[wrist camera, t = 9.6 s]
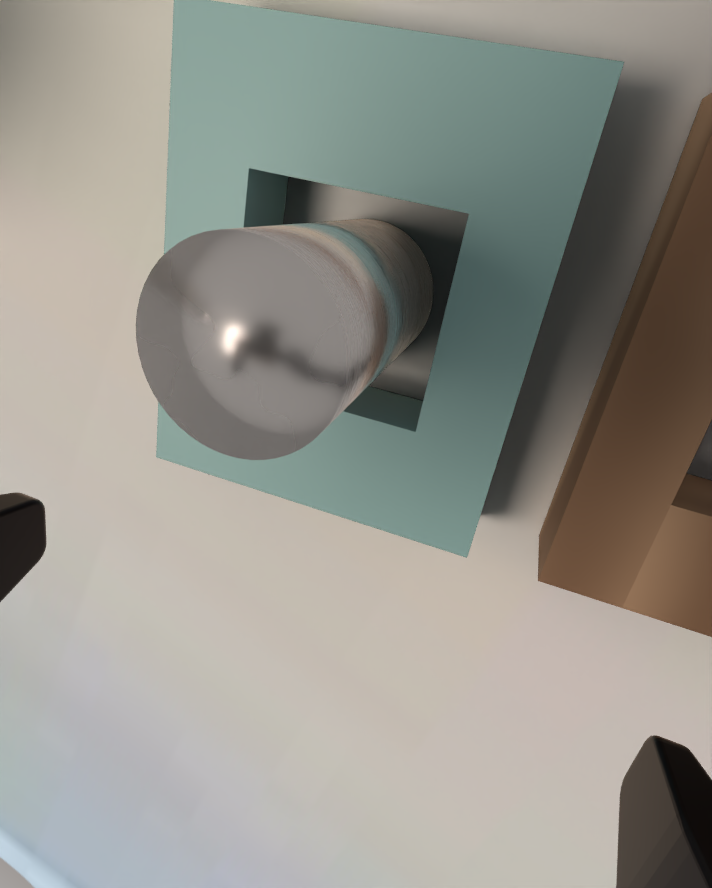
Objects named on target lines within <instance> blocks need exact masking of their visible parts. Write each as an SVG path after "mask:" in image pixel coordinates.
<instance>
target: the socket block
mask: <svg viewBox="0 0 712 888" xmlns="http://www.w3.org/2000/svg"><path fill="white" fill-rule="evenodd" d="M711 420H712V93H711V94H709V95H708V96H706V97H705V98H703V99H702V101H701V104H700V107H699V109H698V112H697V115H696V117H695V120H694V123H693V125H692V128H691V131H690V133H689V136H688V139H687V141H686V144H685V147H684V149H683V152H682V155H681V158H680V160H679V163H678V166H677V168H676V171H675V174H674V176H673V179H672V182H671V184H670V187H669V190H668V192H667V195H666V198H665V200H664V203H663V206H662V208H661V211H660V214H659V216H658V219H657V222H656V224H655V227H654V230H653V232H652V235H651V238H650V240H649V243H648V246H647V248H646V251H645V254H644V256H643V259H642V262H641V264H640V267H639V270H638V272H637V275H636V278H635V280H634V283H633V286H632V288H631V291H630V294H629V297H628V299H627V302H626V305H625V307H624V310H623V313H622V315H621V318H620V321H619V323H618V326H617V329H616V331H615V334H614V337H613V339H612V342H611V345H610V347H609V350H608V353H607V355H606V358H605V361H604V363H603V366H602V369H601V371H600V374H599V377H598V379H597V382H596V385H595V387H594V390H593V393H592V395H591V398H590V401H589V403H588V406H587V409H586V411H585V414H584V417H583V419H582V422H581V425H580V427H579V430H578V433H577V436H576V438H575V441H574V444H573V446H572V449H571V452H570V454H569V457H568V460H567V462H566V465H565V468H564V470H563V473H562V476H561V478H560V481H559V484H558V486H557V489H556V492H555V494H554V497H553V500H552V502H551V505H550V508H549V510H548V513H547V516H546V518H545V521H544V524H543V526H542V529H541V532H540V534H539V561H538V581H541V582H544V583H547V584H550V585H553V586H556V587H559V588H562V589H565V590H568V591H572V592H575V593H578V594H581V595H584V596H587V597H590V598H593V599H596V600H599V601H602V602H605V603H609V604H612V605H615V606H618V607H621V608H624V609H627V610H630V611H633V612H636V613H639V614H643V615H646V616H649V617H652V618H655V619H658V620H661V621H664V622H667V623H670V624H673V625H677V626H680V627H683V628H686V629H689V630H692V631H695V632H698V633H701V634H704V635H707V636H711V637H712V481H711V480H708V479H704V478H700V477H697V476H693V475H689V474H686V473H687V471H688V468H689V466H690V464H691V462H692V460H693V458H694V456H695V454H696V452H697V450H698V447H699V445H700V443H701V441H702V439H703V437H704V435H705V433H706V431H707V429H708V426H709V424H710V422H711Z"/></svg>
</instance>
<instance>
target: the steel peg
mask: <svg viewBox="0 0 712 888" xmlns="http://www.w3.org/2000/svg"><path fill="white" fill-rule="evenodd" d="M432 302H433V280H432V275H431V271H430V268H429V265H428V262H427V260H426V258H425V256H424V254H423V252H422V251H421V249H420V248H419V246H418V245H417V244H416V243H415V242H414V241H413V239H412V238H411V237H409V236H408V235H407V234H406V233H405V232H404V231H402V230H400V229H399V228H397V227H396V226H393V225H391V224H389V223H386V222H383V221H380V220H373V219H354V220H341V221H327V222H314V223H300V224H286V225H273V226H259V227H246V228H232V229H219V230H212V231H206V232H202V233H199V234H196V235H193V236H191V237H189V238H187V239H185V240H183V241H181V242H179V243H178V244H176V245H175V246H174V247H172V248H171V249H170V250H168V251H167V252H166V253H165V254H164V255H163V256H162V258H161V259H160V260H159V261H158V262H157V264H156V265H155V266H154V268H153V269H152V271H151V272H150V274H149V276H148V278H147V280H146V282H145V284H144V287H143V290H142V293H141V295H140V299H139V304H138V309H137V318H136V339H137V346H138V353H139V357H140V361H141V365H142V368H143V371H144V373H145V376H146V379H147V381H148V383H149V385H150V387H151V389H152V391H153V393H154V395H155V397H156V398H157V400H158V401H159V403H160V405H161V406H162V407H163V409H164V410H165V411H166V413H167V414H168V415H169V416H170V418H171V419H172V420H173V421H174V422H175V423H176V424H177V425H178V426H179V427H180V428H181V429H182V430H184V431H185V432H186V433H187V434H188V435H190V436H191V437H192V438H194V439H195V440H197V441H198V442H200V443H201V444H203V445H205V446H207V447H208V448H210V449H212V450H214V451H217V452H219V453H222V454H225V455H227V456H231V457H235V458H239V459H248V460H268V459H274V458H279V457H282V456H286V455H289V454H291V453H293V452H296V451H298V450H300V449H302V448H303V447H305V446H306V445H308V444H309V443H311V442H312V441H313V440H314V439H315V438H316V437H317V436H318V435H319V434H321V433H322V432H323V431H324V430H325V429H326V428H327V427H328V426H329V425H330V424H331V423H332V422H333V421H334V420H335V419H336V418H337V417H338V416H339V415H340V414H341V413H342V412H343V411H344V410H345V409H346V408H347V407H348V406H349V405H350V404H351V403H352V402H353V401H354V400H355V399H356V398H357V397H358V396H359V395H360V394H361V393H362V392H363V391H364V390H365V389H366V388H367V387H368V386H369V385H370V384H371V383H372V382H373V381H374V380H375V379H376V378H377V377H378V376H379V375H380V374H381V373H382V372H383V371H384V370H385V369H386V368H387V367H388V366H389V365H390V364H391V363H392V362H393V361H394V360H395V359H396V358H397V357H398V356H399V355H400V354H401V353H402V352H403V351H404V350H405V349H406V348H407V347H408V346H409V345H410V344H411V343H412V342H413V341H414V340H415V339H416V337H417V336H418V335H419V334H420V332H421V331H422V329H423V328H424V326H425V324H426V322H427V320H428V317H429V314H430V311H431V308H432Z"/></svg>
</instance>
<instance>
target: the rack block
mask: <svg viewBox="0 0 712 888" xmlns="http://www.w3.org/2000/svg"><path fill="white" fill-rule="evenodd" d="M623 64H624V62H622V61H615V60H608V59H601V58H595V57H588V56H581V55H575V54H568V53H561V52H554V51H548V50H541V49H534V48H527V47H521V46H514V45H507V44H501V43H494V42H487V41H480V40H474V39H467V38H460V37H453V36H447V35H440V34H433V33H427V32H420V31H413V30H406V29H400V28H393V27H386V26H379V25H373V24H366V23H359V22H353V21H346V20H339V19H332V18H326V17H319V16H312V15H305V14H299V13H292V12H285V11H278V10H272V9H265V8H258V7H252V6H245V5H238V4H231V3H225V2H218V1H211V0H174V10H173V36H172V62H171V88H170V114H169V140H168V166H167V191H166V217H165V243H164V254H165V253H166V252H167V251H168V250H170V249H171V248H172V247H174V246H175V245H176V244H178V243H179V242H181V241H183V240H185V239H187V238H189V237H191V236H193V235H196V234H199V233H202V232H206V231H212V230H219V229H232V228H246V227H259V226H273V225H283V218H284V210H285V201H286V193H287V185H288V176H289V177H294V178H299V179H304V180H309V181H314V182H318V183H323V184H328V185H333V186H338V187H342V188H347V189H352V190H357V191H362V192H367V193H371V194H376V195H381V196H386V197H391V198H395V199H400V200H405V201H410V202H415V203H420V204H424V205H429V206H434V207H439V208H444V209H448V210H453V211H458V212H463V213H468V214H469V216H468V220H467V224H466V228H465V232H464V236H463V240H462V244H461V248H460V252H459V257H458V261H457V265H456V269H455V273H454V277H453V281H452V285H451V289H450V293H449V297H448V301H447V306H446V310H445V314H444V318H443V322H442V326H441V330H440V334H439V338H438V342H437V346H436V351H435V355H434V359H433V363H432V367H431V371H430V375H429V379H428V383H427V387H426V391H425V396H424V400H423V401H420V400H417V399H413V398H409V397H406V396H402V395H398V394H395V393H391V392H388V391H384V390H380V389H377V388H373V387H369V386H368V387H367V388H366V389H365V390H364V391H363V392H362V393H361V394H360V395H359V396H358V397H357V398H356V399H355V400H354V401H353V402H352V403H351V404H350V405H349V406H348V407H347V408H346V409H345V410H344V411H343V412H342V413H341V414H340V415H339V416H338V417H337V418H336V419H335V420H334V421H333V422H332V423H331V424H330V425H329V426H328V427H327V428H326V429H325V430H324V431H323V432H322V433H321V434H319V435H318V436H317V437H316V438H315V439H314V440H313V441H312V442H311V443H309V444H308V445H306V446H305V447H303V448H302V449H300V450H298V451H296V452H293V453H291V454H289V455H286V456H282V457H279V458H274V459H268V460H248V459H239V458H235V457H231V456H227V455H225V454H222V453H219V452H217V451H214V450H212V449H210V448H208V447H207V446H205V445H203V444H201V443H200V442H198V441H197V440H195V439H194V438H192V437H191V436H190V435H188V434H187V433H186V432H185V431H184V430H182V429H181V428H180V427H179V426H178V425H177V424H176V423H175V422H174V421H173V420H172V419H171V418H170V416H169V415H168V414H167V413H166V411H165V410H164V409H163V407H162V406H161V405H160V403H159V401H158V425H157V451H156V457H157V458H161V459H164V460H167V461H170V462H173V463H176V464H179V465H182V466H185V467H188V468H191V469H195V470H198V471H201V472H204V473H207V474H210V475H213V476H216V477H219V478H222V479H225V480H228V481H232V482H235V483H238V484H241V485H244V486H247V487H250V488H253V489H256V490H259V491H262V492H266V493H269V494H272V495H275V496H278V497H281V498H284V499H287V500H290V501H293V502H296V503H300V504H303V505H306V506H309V507H312V508H315V509H318V510H321V511H324V512H327V513H330V514H334V515H337V516H340V517H343V518H346V519H349V520H352V521H355V522H358V523H361V524H364V525H368V526H371V527H374V528H377V529H380V530H383V531H386V532H389V533H392V534H395V535H398V536H402V537H405V538H408V539H411V540H414V541H417V542H420V543H423V544H426V545H429V546H432V547H436V548H439V549H442V550H445V551H448V552H451V553H454V554H457V555H460V556H463V557H466V558H467V556H468V553H469V550H470V546H471V543H472V540H473V537H474V534H475V531H476V527H477V524H478V521H479V518H480V515H481V512H482V509H483V505H484V502H485V499H486V496H487V493H488V490H489V487H490V483H491V480H492V477H493V474H494V471H495V468H496V464H497V461H498V458H499V455H500V452H501V449H502V446H503V442H504V439H505V436H506V433H507V430H508V427H509V424H510V420H511V417H512V414H513V411H514V408H515V405H516V401H517V398H518V395H519V392H520V389H521V386H522V383H523V379H524V376H525V373H526V370H527V367H528V364H529V361H530V357H531V354H532V351H533V348H534V345H535V342H536V338H537V335H538V332H539V329H540V326H541V323H542V320H543V316H544V313H545V310H546V307H547V304H548V301H549V298H550V294H551V291H552V288H553V285H554V282H555V279H556V275H557V272H558V269H559V266H560V263H561V260H562V257H563V253H564V250H565V247H566V244H567V241H568V238H569V235H570V231H571V228H572V225H573V222H574V219H575V216H576V212H577V209H578V206H579V203H580V200H581V197H582V194H583V190H584V187H585V184H586V181H587V178H588V175H589V172H590V168H591V165H592V162H593V159H594V156H595V153H596V149H597V146H598V143H599V140H600V137H601V134H602V131H603V127H604V124H605V121H606V118H607V115H608V112H609V109H610V105H611V102H612V99H613V96H614V93H615V90H616V86H617V83H618V80H619V77H620V74H621V71H622V68H623Z"/></svg>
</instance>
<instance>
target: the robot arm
mask: <svg viewBox="0 0 712 888" xmlns="http://www.w3.org/2000/svg"><path fill="white" fill-rule="evenodd" d="M45 548H46V522H45V507H44V505H43V503H42V502H41V501H39V500H38V499H35V498H33V497H30V496H27V495H25V494H22V493H9V494H3V495H0V602H1V601H2V600H3V599H4V598H5V597H6V595H7V594H8V593H9V592H10V591H11V590H12V589H13V588H14V587H15V586H16V585H17V584H18V583H19V582H20V580H21V579H22V578H23V577H24V576H25V575H26V574H27V573H28V572H29V571H30V570H31V569H32V568H33V567H34V566H35V564H36V563H37V562H38V561H39V560H40V559H41V557H42V556H43V554H44V551H45ZM616 888H712V780H711V778H710V777H709V775H708V774H707V773H706V771H705V770H704V769H703V767H702V766H701V764H700V763H699V762H698V760H697V759H696V758H695V756H694V755H693V754H692V752H691V751H690V750H689V749H688V748H686V747H685V746H683V745H681V744H678V743H675V742H673V741H670V740H668V739H665V738H662V737H660V736H650V737H649V738H648V739H647V740H646V741H645V742H644V744H643V746H642V748H641V749H640V751H639V753H638V754H637V756H636V758H635V760H634V761H633V763H632V765H631V766H630V768H629V770H628V772H627V773H626V775H625V777H624V780H623V782H622V786H621V792H620V807H619V833H618V858H617V884H616Z"/></svg>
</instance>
